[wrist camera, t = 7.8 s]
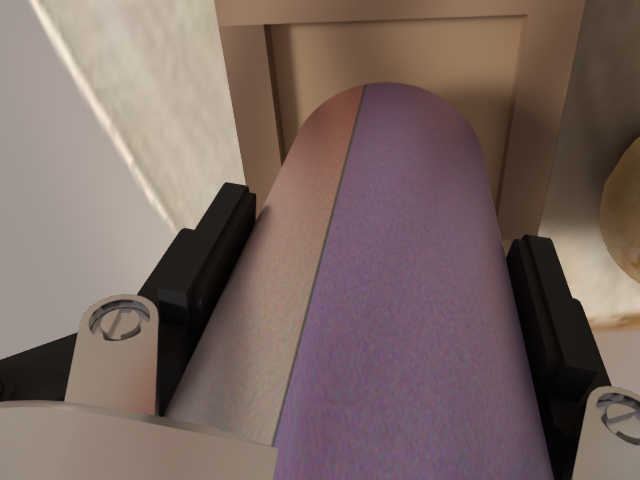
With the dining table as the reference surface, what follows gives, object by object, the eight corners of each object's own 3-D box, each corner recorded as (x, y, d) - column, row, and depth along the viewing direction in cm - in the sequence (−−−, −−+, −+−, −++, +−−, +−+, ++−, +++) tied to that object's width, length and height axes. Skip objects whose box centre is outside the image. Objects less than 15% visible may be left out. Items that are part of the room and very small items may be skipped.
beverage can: (476, 56, 14) (782, 1091, 2) (487, 234, 17) (635, 1052, 5) (272, 93, 16) (-215, 814, 4) (317, 250, 19) (134, 912, 7)
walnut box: (552, -68, 19) (595, -48, 14) (510, 197, 25) (529, 271, 20) (258, -49, 20) (209, -26, 16) (287, 192, 27) (259, 260, 22)
